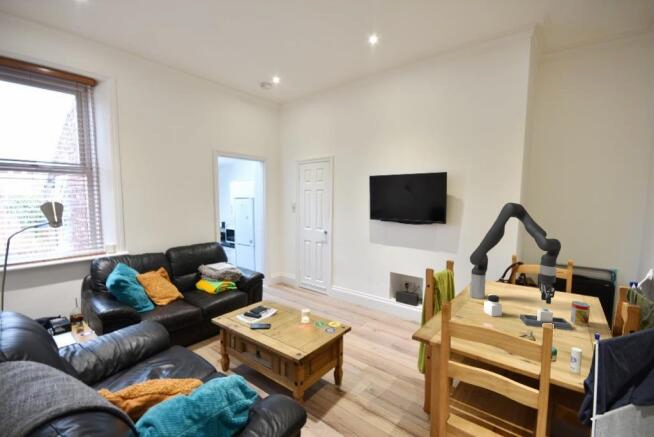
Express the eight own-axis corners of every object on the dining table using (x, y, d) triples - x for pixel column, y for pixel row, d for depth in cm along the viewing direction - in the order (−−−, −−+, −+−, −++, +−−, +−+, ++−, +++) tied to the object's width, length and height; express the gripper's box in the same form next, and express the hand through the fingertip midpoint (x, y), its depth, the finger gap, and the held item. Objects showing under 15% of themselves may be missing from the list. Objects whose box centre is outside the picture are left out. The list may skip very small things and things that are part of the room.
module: (540, 323, 167) (540, 309, 166) (536, 320, 171) (537, 307, 170) (552, 324, 166) (553, 310, 165) (548, 321, 169) (549, 308, 169)
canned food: (591, 327, 164) (593, 306, 163) (576, 325, 166) (577, 305, 165) (582, 320, 172) (583, 301, 171) (567, 319, 173) (568, 300, 172)
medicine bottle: (501, 315, 179) (502, 297, 178) (491, 316, 178) (492, 297, 177) (493, 311, 186) (494, 293, 185) (483, 312, 185) (484, 293, 184)
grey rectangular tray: (526, 325, 166) (526, 320, 166) (519, 318, 176) (519, 313, 176) (571, 330, 161) (571, 325, 160) (562, 322, 170) (562, 317, 170)
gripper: (534, 269, 173) (533, 296, 175) (546, 276, 159) (544, 305, 161) (549, 270, 171) (547, 298, 173) (562, 277, 158) (559, 307, 159)
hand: (545, 301), depth 167 cm, fingers open, 5 cm apart
